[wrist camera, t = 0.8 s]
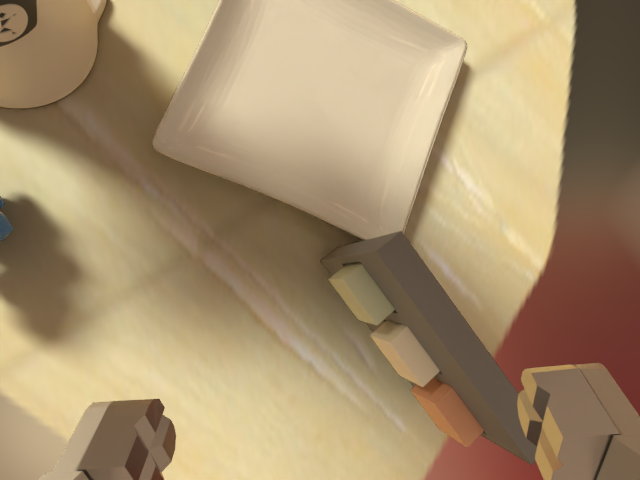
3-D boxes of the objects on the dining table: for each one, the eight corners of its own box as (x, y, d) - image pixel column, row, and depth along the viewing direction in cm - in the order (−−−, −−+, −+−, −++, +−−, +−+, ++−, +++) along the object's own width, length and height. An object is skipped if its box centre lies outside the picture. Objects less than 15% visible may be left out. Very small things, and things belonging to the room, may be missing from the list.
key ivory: (369, 335, 41) (389, 342, 36) (400, 308, 42) (423, 312, 37) (399, 375, 41) (422, 387, 37) (429, 347, 42) (455, 356, 38)
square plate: (385, 256, 50) (399, 254, 46) (151, 157, 45) (146, 146, 41) (456, 55, 54) (474, 38, 51) (251, -56, 49) (254, -83, 46)
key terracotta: (410, 389, 41) (434, 403, 37) (439, 362, 42) (467, 372, 38) (439, 428, 42) (467, 447, 37) (467, 400, 43) (499, 415, 38)
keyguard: (320, 260, 48) (375, 251, 31) (367, 223, 49) (444, 196, 33) (425, 402, 49) (531, 464, 33) (468, 361, 51) (589, 401, 34)
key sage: (327, 279, 40) (342, 279, 36) (360, 253, 41) (378, 250, 37) (358, 320, 41) (376, 325, 36) (389, 293, 42) (411, 295, 37)
